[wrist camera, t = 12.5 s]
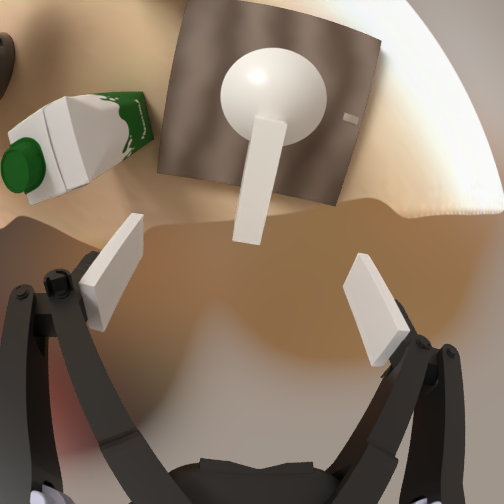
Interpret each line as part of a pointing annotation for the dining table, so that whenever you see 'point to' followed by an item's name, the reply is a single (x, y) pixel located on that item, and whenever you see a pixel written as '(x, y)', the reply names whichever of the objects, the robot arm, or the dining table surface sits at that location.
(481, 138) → the dining table surface
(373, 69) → the base plate
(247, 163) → the spoon
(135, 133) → the milk carton
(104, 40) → the dining table surface
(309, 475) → the robot arm
